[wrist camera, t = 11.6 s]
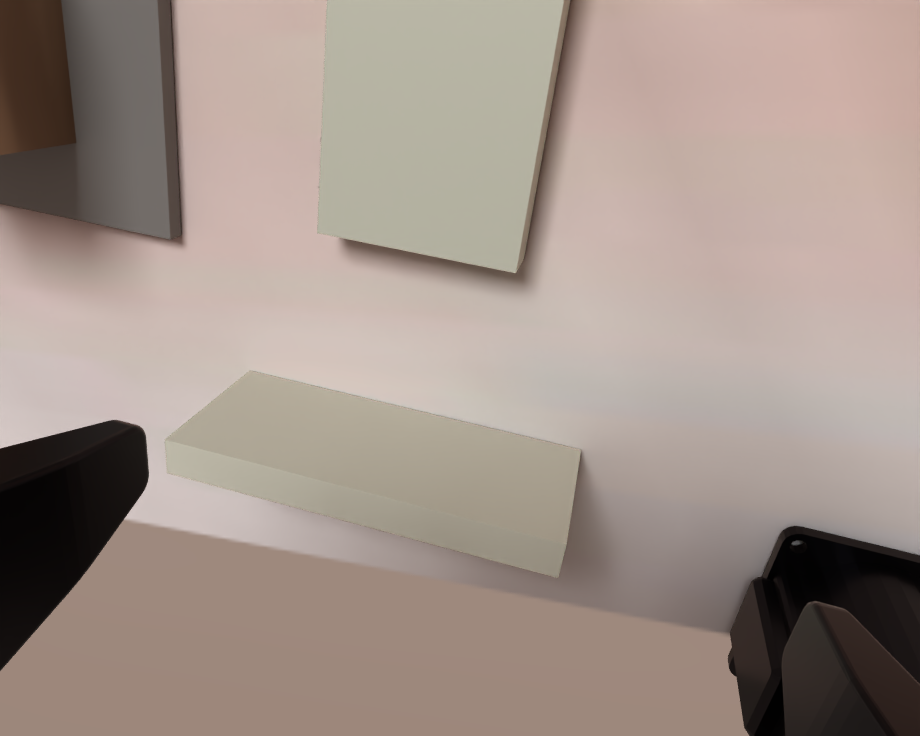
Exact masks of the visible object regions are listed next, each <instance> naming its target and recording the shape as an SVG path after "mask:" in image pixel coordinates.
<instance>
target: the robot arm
mask: <svg viewBox="0 0 920 736" xmlns="http://www.w3.org/2000/svg"><path fill="white" fill-rule="evenodd" d="M148 477H149V469H148V456H147V444H146V435H145V432H144V430H143V429H142V428H141V427H140V426H138V425H134V424H131V423H127V422H123V421H119V420H111V421H106V422H103V423H99V424H95V425H91V426H87V427H83V428H79V429H75V430H71V431H67V432H63V433H59V434H55V435H52V436H48V437H44V438H40V439H36V440H32V441H28V442H24V443H20V444H16V445H12V446H8V447H4V448H1V449H0V671H1V670H2V668H3V667H4V666H5V665H6V664H7V663H8V662H9V660H10V659H11V658H12V657H13V656H14V655H15V654H16V653H17V651H18V650H19V649H20V648H21V647H22V646H23V645H24V643H25V642H26V641H27V640H28V639H29V638H30V637H31V635H32V634H33V633H34V632H35V631H36V630H37V629H38V627H39V626H40V625H41V624H42V623H43V622H44V621H45V619H46V618H47V617H48V616H49V615H50V614H51V613H52V611H53V610H54V609H55V608H56V607H57V605H59V603H60V602H61V601H62V600H63V599H64V598H65V597H66V595H67V594H68V593H69V592H70V591H71V590H72V588H73V587H74V586H75V585H76V584H77V582H78V581H79V580H80V579H81V577H82V576H83V575H84V574H85V572H86V571H87V570H88V568H89V567H90V566H91V564H92V563H93V562H94V560H95V559H96V557H97V556H98V555H99V553H100V552H101V550H102V549H103V548H104V546H105V545H106V544H107V542H108V541H109V539H110V538H111V536H112V535H113V534H114V532H115V531H116V529H117V528H118V527H119V525H120V524H121V522H122V521H123V520H124V518H125V517H126V516H127V514H128V513H129V511H130V510H131V509H132V507H133V506H134V504H135V503H136V502H137V500H138V499H139V497H140V496H141V495H142V493H143V491H144V490H145V488H146V485H147V482H148ZM796 540H802V541H804V542H803V543H802V544H800V545H792V544H791V543H792V542H793V541H796ZM730 636H731V642H732V649H731V651H730V653H729V655H728V663H729V669H730V671H731V673H732V674H733V675H734V676H737V682H738V689H739V695H740V702H741V709H742V715H743V721H744V728H745V729H746V731H747V733H748V734H749V736H920V555H915V554H911V553H907V552H903V551H899V550H895V549H891V548H887V547H883V546H879V545H874V544H870V543H866V542H862V541H858V540H854V539H850V538H846V537H842V536H838V535H834V534H829V533H825V532H821V531H817V530H813V529H809V528H805V527H799V526H793V527H788V528H787V529H785V530H783V532H782V533H781V534H780V536H779V538H778V541H777V543H776V545H775V548H774V550H773V552H772V555H771V557H770V559H769V562H768V564H767V566H766V569H765V571H764V573H763V576H762V577H758V578H756V579H755V580H753V581H752V582H751V584H750V587H749V589H748V591H747V594H746V596H745V598H744V601H743V603H742V606H741V608H740V610H739V613H738V615H737V617H736V620H735V622H734V625H733V627H732V629H731V632H730Z"/></svg>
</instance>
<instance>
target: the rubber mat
mask: <svg viewBox="0 0 920 736" xmlns="http://www.w3.org/2000/svg"><path fill="white" fill-rule="evenodd" d="M61 3H62V13H63V22H64V31H65V41H66V50H67V59H68V69H69V78H70V87H71V96H72V106H73V115H74V124H75V134H76V143H73V144H67V145H61V146H55V147H48V148H42V149H36V150H30V151H23V152H17V153H11V154H5V155H0V204H4V205H9V206H14V207H18V208H23V209H28V210H33V211H37V212H42V213H47V214H51V215H56V216H61V217H66V218H70V219H75V220H80V221H85V222H89V223H94V224H99V225H103V226H108V227H113V228H118V229H122V230H127V231H132V232H137V233H141V234H146V235H151V236H156V237H160V238H165V239H170V240H171V239H173V238H176V237H178V236H181V221H180V200H179V178H178V157H177V136H176V114H175V93H174V72H173V51H172V29H171V8H170V0H61Z"/></svg>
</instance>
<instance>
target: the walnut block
mask: <svg viewBox="0 0 920 736" xmlns="http://www.w3.org/2000/svg"><path fill="white" fill-rule="evenodd" d="M73 143H76V134H75V124H74V115H73V106H72V96H71V87H70V78H69V69H68V59H67V50H66V41H65V31H64V22H63V13H62V3H61V0H0V155H5V154H11V153H17V152H23V151H30V150H36V149H42V148H48V147H55V146H61V145H67V144H73Z"/></svg>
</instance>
